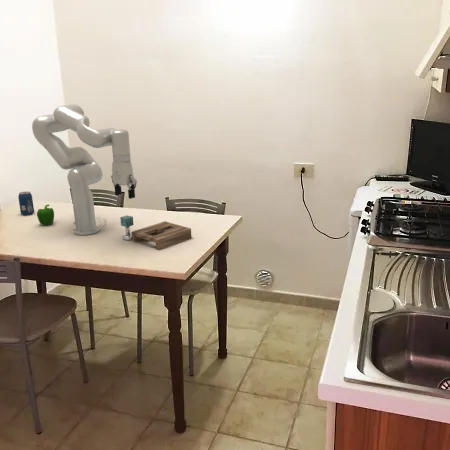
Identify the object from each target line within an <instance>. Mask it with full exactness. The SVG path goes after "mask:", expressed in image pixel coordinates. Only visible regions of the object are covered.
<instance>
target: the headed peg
mask: <svg viewBox="0 0 450 450" xmlns="http://www.w3.org/2000/svg"><path fill="white" fill-rule="evenodd" d="M119 218H120V226H121V227H124V228H125V234H124V235H122V240H123V241H125V242H126V241H127V242H128V241H132V233H131V228H130V227H132V226H134V217H133V216H132V215H128V214H127V215H124V216H121V217H119Z"/></svg>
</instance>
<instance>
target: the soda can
mask: <svg viewBox="0 0 450 450" xmlns="http://www.w3.org/2000/svg"><path fill="white" fill-rule="evenodd" d="M17 198H18V205H19V209H20V214H21V215H22V216H26V217H27V216H28V217H29V216H33V214H34V213H35V207H34V202H33V195H32V193H31V191H21V192H19V193H18V197H17Z"/></svg>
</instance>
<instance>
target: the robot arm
mask: <svg viewBox="0 0 450 450" xmlns="http://www.w3.org/2000/svg"><path fill="white" fill-rule="evenodd" d="M31 129H32V134H33V136H34V138H35V140H36V141H37V142H38V143H39V145H41V146H42V147H43V148H44V149H45V150H46V151H47V152H48V154H49V155H50V156H51V157H52V159H53V160H54V161H55V162H56V164H57V166H59V167H60V168H61V169H62V170H69V171H68V173H67V176H66V178H67V182H68V185H69V188H70V191H71V194H70V195H71V200H72V208H73V214H74V215H73V216H74V222H73V225H74V226H75V228H73V230H72V233H73V234H74V235H76V236H89V235H90V236H91V235H93V234H94V235H95V234H97V233H98V232H99V231H100V230H101V229H100V226H98V225H97V222H96V213H95V204H94V195H93V191H92V190H91V189H90V187H89V186H90V185H93V184H96V183H99V182H101V180H102V179H103V170H102V168H101V166H100V165H99V164H98V162H97V161H96V160H95V159H94V157H93V156H92V155H91V154H90V153H89V151H88V150H87V149H85V148H83V147H81V146H74V147H69V146H68V145H67V144H66V143H65V141H63V140H62V139H61V138H60V137H58V136H57V135H55V134H56V133H61V132H65V131H67V130H71V131H73V132H74V133H76V135H77V137H78V139H79V140H80V141H81V142H82V143H84V144H85V145H87V146H89V147H92V148H95V149H101V148H105V147H110V146H111V150H112V165H111V173H112V175H110V178H111V180H112V181H111V183H112V184H113V187H114V194H115V196H120V195H122V186H125V187H126V188H128V189H127V194H128V199H129V200H130V199H134V198H136V191H135V189H136V187H137V184H138V183H137V182H138V181H137V179H136V178H135V177H134V169H133V163H132V161H131V160H132V159H131V147H130V146H131V145H130V135H129V131H128V130H126V129H116V128H111V127H110V128H109V127H108V128H103V129H98V130H95V129H93V128H90V118H89V117H88V116H86V115H85V111H84V109H83V108H82V107H81V106H80V105H78V104H68V105H66V104H65V105H61V106H60V105H59V106H57V107H56V108H55V109H54V111H53V113H52V114H43V115H41V116H38V117H36V118H35V119H33V121H32V124H31ZM54 133H55V134H54Z"/></svg>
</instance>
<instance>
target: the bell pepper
mask: <svg viewBox="0 0 450 450" xmlns="http://www.w3.org/2000/svg"><path fill="white" fill-rule="evenodd" d="M36 216H37V220H38V222H39V224H40V225H41V226H50V225H53V223H54V221H55V211H54V208H52V207H50V204H49V203H48V204H45V205H44V208H43V209H42V208H39V209H38V210H37V212H36Z"/></svg>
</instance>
